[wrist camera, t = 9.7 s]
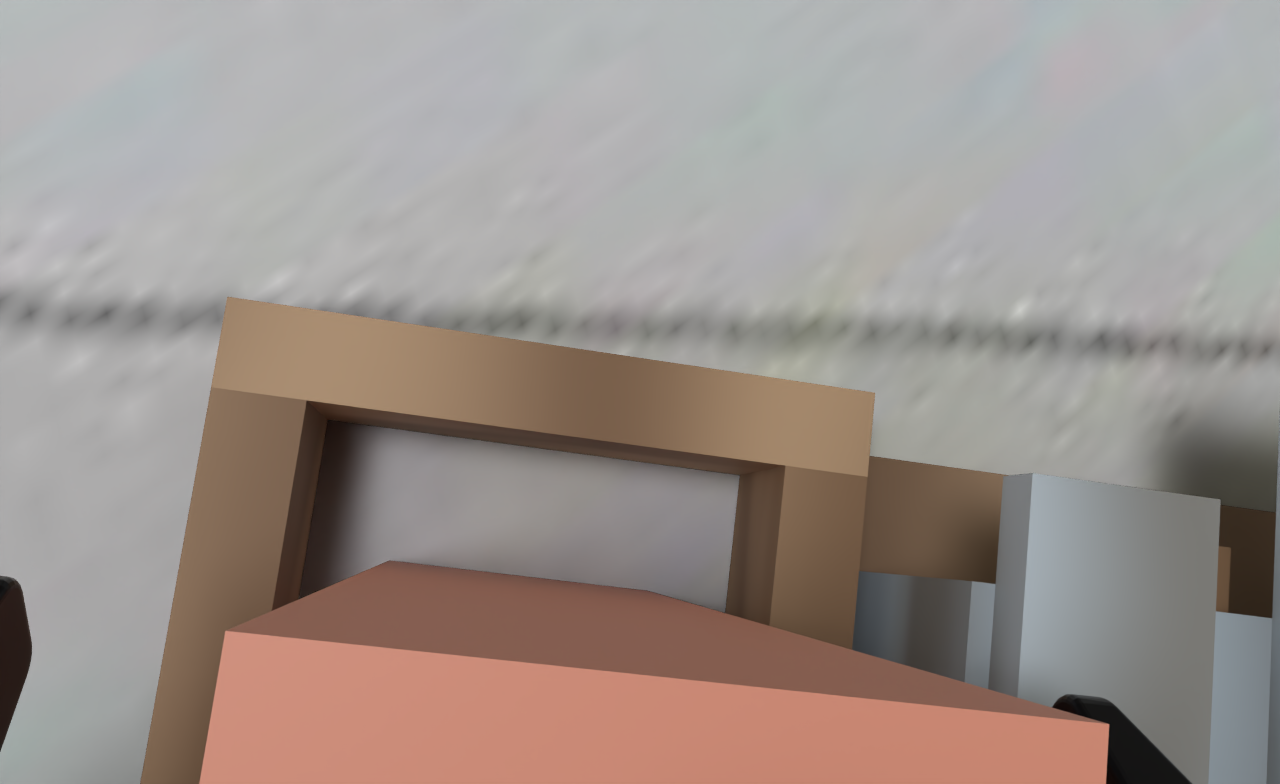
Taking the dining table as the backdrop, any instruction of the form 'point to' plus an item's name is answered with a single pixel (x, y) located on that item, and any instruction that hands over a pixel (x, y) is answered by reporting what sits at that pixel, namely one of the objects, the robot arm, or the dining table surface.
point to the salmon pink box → (597, 696)
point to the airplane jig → (755, 528)
